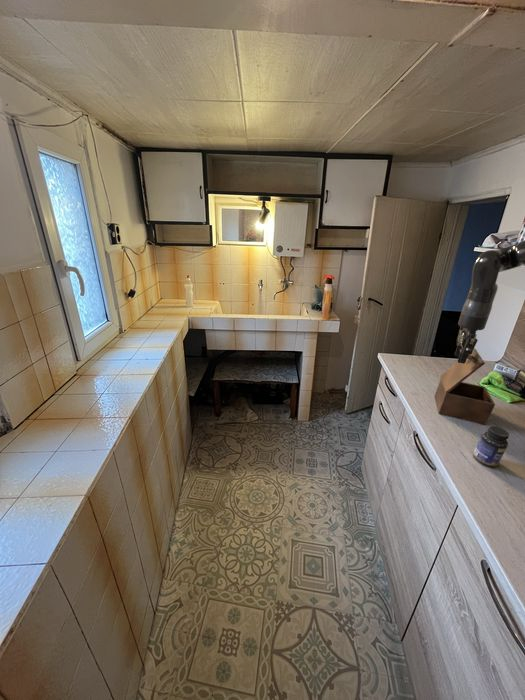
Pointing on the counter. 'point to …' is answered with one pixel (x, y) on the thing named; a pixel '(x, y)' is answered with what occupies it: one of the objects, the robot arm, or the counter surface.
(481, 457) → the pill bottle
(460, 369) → the bin lid
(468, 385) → the bin
